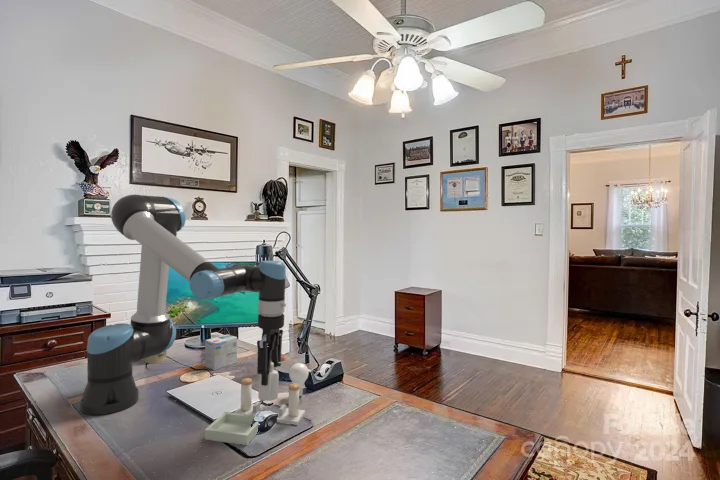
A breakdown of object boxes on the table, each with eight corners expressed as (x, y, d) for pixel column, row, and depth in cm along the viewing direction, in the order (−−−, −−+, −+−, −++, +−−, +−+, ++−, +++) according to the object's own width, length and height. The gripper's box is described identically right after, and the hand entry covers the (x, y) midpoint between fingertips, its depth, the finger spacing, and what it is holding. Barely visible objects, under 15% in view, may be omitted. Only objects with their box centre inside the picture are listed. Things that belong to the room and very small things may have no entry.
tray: (204, 439, 102) (204, 429, 102) (224, 420, 112) (225, 411, 112) (247, 445, 100) (247, 435, 100) (263, 425, 110) (264, 416, 110)
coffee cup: (160, 364, 153) (160, 334, 153) (137, 363, 153) (137, 333, 153) (172, 356, 162) (172, 327, 162) (150, 355, 163) (150, 327, 162)
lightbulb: (304, 401, 125) (305, 368, 125) (285, 399, 126) (286, 366, 126) (310, 393, 131) (311, 361, 131) (292, 391, 132) (293, 359, 132)
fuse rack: (232, 416, 114) (233, 383, 114) (243, 405, 121) (244, 374, 121) (297, 425, 110) (298, 391, 110) (305, 413, 117) (306, 381, 117)
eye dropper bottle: (262, 393, 118) (264, 354, 118) (280, 396, 117) (281, 357, 116) (255, 399, 114) (257, 359, 114) (273, 403, 113) (275, 362, 112)
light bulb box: (227, 359, 161) (227, 333, 160) (237, 363, 157) (238, 336, 157) (204, 366, 152) (204, 339, 152) (214, 370, 148) (214, 342, 148)
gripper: (271, 321, 105) (268, 406, 106) (293, 308, 122) (291, 381, 123) (245, 319, 107) (243, 402, 108) (271, 306, 124) (269, 378, 125)
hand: (268, 391), depth 116 cm, fingers closed on eye dropper bottle, 4 cm apart
